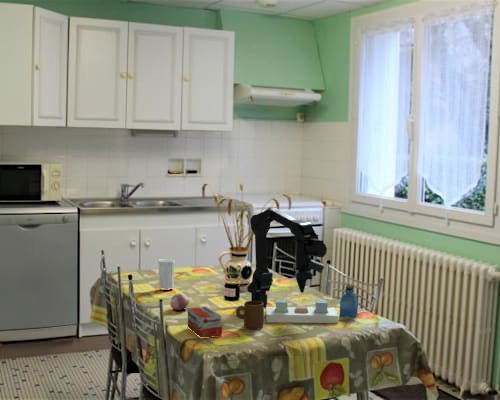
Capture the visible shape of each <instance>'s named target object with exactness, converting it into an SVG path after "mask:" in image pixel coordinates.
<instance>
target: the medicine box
mask: <svg viewBox="0 0 500 400" xmlns="http://www.w3.org/2000/svg"><path fill="white" fill-rule="evenodd" d="M222 317H223V316H222V315H221V314H219V313H218V312H216V311H214V310H213V309H212V308H210V307H208V306H198V307H188V308H187V328H188V327H189V328H190V329H191V330H192V331H194V332H195V333H196V334H197V335H199V336H200V337H209V338H213V337H212V336H221V337H222V332H223V330H222V329H223V322H222V320H223V319H222ZM191 330H190V331H191ZM192 331H191V332H192ZM196 334H195V335H196ZM197 335H196V336H197Z"/></svg>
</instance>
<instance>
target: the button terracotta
mask: <svg viewBox="0 0 500 400" xmlns="http://www.w3.org/2000/svg"><path fill="white" fill-rule="evenodd" d="M295 307H296V311H295V313H307V307H308V306H307V305H295Z"/></svg>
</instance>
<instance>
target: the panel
mask: <svg viewBox="0 0 500 400" xmlns="http://www.w3.org/2000/svg"><path fill="white" fill-rule="evenodd" d="M295 311H296V306H287V312H276V306H266V307H265V312H266V313H265V314H266V323H299V324H300V323H303V324H304V323H306V324H307V323H309V324H338V323H339V315H338V312H337V310H336V308H335V307H327V313H316V311H315V306H314V307H311V306H310V307H308V306H307V313H295Z"/></svg>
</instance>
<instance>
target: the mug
mask: <svg viewBox="0 0 500 400" xmlns="http://www.w3.org/2000/svg"><path fill="white" fill-rule="evenodd" d="M264 309H265V307H264V304H263V302H261V301H251V300H246V301H245V302H244V304H243V305H239V306H238V307H237V308H236V310H235V315H236V317H237V318H238V319H241V320H243V326H244V328H245V329H247V330H260V329H263V327H264V321H265V320H264V319H265V317H264V315H265V314H264V313H265V311H264ZM241 311H243V313H242V314H241Z"/></svg>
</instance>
